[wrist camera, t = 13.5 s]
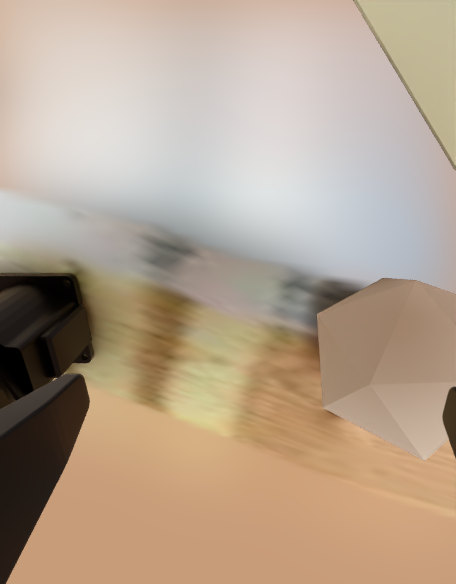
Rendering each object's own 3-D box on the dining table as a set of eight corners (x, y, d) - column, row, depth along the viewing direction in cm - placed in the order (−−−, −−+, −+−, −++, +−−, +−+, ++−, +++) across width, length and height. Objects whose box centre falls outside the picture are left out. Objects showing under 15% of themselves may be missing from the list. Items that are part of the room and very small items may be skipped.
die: (390, 393, 25) (566, 453, 16) (284, 422, 21) (433, 518, 13) (384, 275, 24) (560, 269, 16) (275, 285, 21) (422, 285, 12)
